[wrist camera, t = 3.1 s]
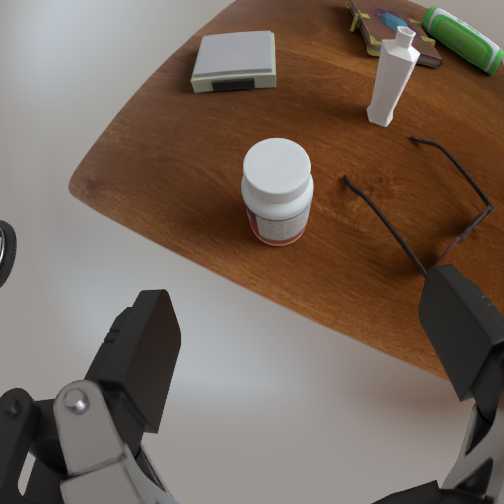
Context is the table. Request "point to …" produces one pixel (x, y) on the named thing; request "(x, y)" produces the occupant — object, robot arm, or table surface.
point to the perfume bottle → (392, 75)
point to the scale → (235, 62)
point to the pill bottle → (277, 190)
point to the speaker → (462, 39)
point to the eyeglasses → (460, 238)
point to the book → (391, 29)
